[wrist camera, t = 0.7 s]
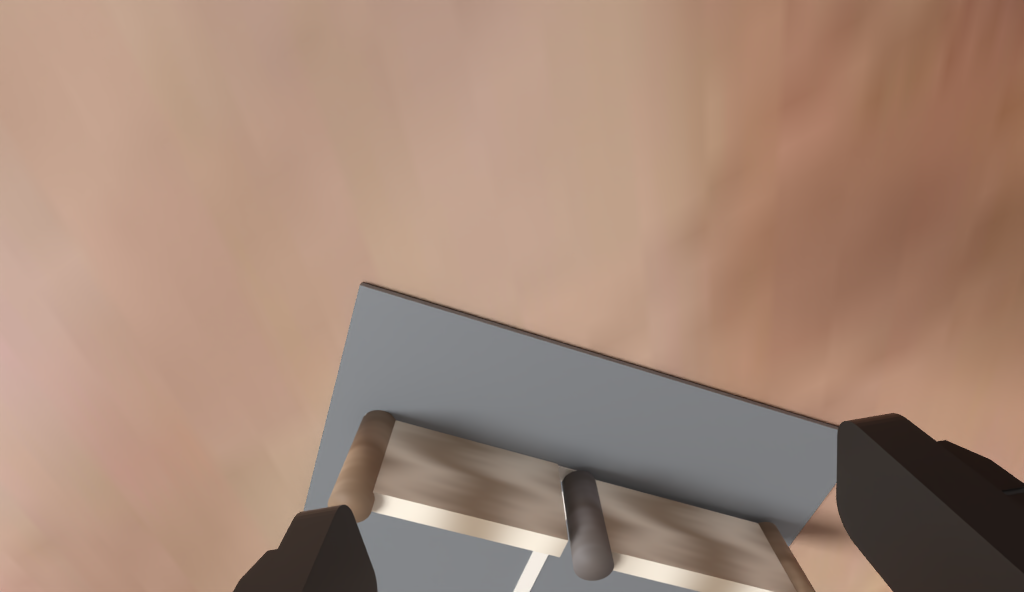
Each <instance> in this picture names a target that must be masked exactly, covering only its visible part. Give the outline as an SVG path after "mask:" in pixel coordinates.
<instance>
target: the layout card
mask: <svg viewBox="0 0 1024 592" xmlns="http://www.w3.org/2000/svg"><path fill="white" fill-rule="evenodd" d="M373 410H382V411H386V412H388V413H390V414H391V415H392V416H393V417H394V418H395V420H397V421H401V422H404V423H408V424H412V425H415V426H419V427H423V428H427V429H430V430H434V431H438V432H441V433H445V434H449V435H453V436H456V437H460V438H464V439H467V440H471V441H475V442H479V443H482V444H486V445H490V446H493V447H497V448H501V449H504V450H508V451H512V452H516V453H519V454H523V455H527V456H530V457H534V458H538V459H542V460H545V461H549V462H553V463H556V464H558V467H559V475H560V482H561V490H562V497H563V504H564V512H565V519H566V527H567V534H568V542H567V544H566V546H565V548H564V550H563V552H562V554H561V556H560V557H556V556H552V555H548V554H544V553H539V552H535V551H531V550H527V549H523V548H519V547H515V546H511V545H507V544H502V543H498V542H494V541H490V540H486V539H482V538H478V537H474V536H470V535H466V534H461V533H457V532H453V531H449V530H445V529H441V528H437V527H433V526H429V525H424V524H420V523H416V522H412V521H408V520H404V519H400V518H396V517H392V516H388V515H383V514H379V513H375V512H371V514H370V515H369V517H368V518H367V519H365V520H364V521H362V522H359V523H357V525H358V528H359V531H360V534H361V536H362V539H363V542H364V544H365V547H366V550H367V553H368V555H369V558H370V561H371V563H372V566H373V569H374V572H375V575H376V580H377V589H378V592H700V591H695V590H691V589H687V588H683V587H679V586H675V585H671V584H667V583H663V582H658V581H654V580H650V579H646V578H642V577H638V576H634V575H630V574H626V573H622V572H617V571H612V572H611V574H610V575H608V576H607V577H605V578H603V579H601V580H597V581H588V580H584V579H581V578H580V577H578V576H577V575H576V574H575V572H574V569H573V562H572V554H571V547H570V540H569V532H568V525H567V518H566V511H565V503H564V496H563V489H562V481H563V479H564V478H565V476H566V475H568V474H569V473H571V472H573V471H579V470H581V471H586V472H589V473H591V474H592V475H593V476H594V478H595V480H599V481H602V482H606V483H610V484H613V485H617V486H621V487H625V488H628V489H632V490H636V491H640V492H643V493H647V494H651V495H654V496H658V497H662V498H666V499H669V500H673V501H677V502H681V503H684V504H688V505H692V506H696V507H699V508H703V509H707V510H710V511H714V512H718V513H722V514H725V515H729V516H733V517H737V518H740V519H744V520H748V521H751V522H755V523H760V522H771V523H773V524H774V525H776V527H777V528H778V530H779V532H780V533H781V535H782V537H783V538H784V540H785V542H786V543H787V545H788V547H789V546H790V544H791V543H792V542H793V540H794V539H795V538H796V536H797V535H798V534H799V532H800V531H801V530H802V528H803V527H804V526H805V524H806V523H807V522H808V520H809V519H810V517H811V516H812V515H813V513H814V512H815V511H816V509H817V508H818V507H819V505H820V504H821V503H822V501H823V500H824V499H825V497H826V496H827V495H828V493H829V492H830V491H831V489H832V488H833V487H834V485H835V484H836V483H837V432H838V428H839V427H837V426H833V425H830V424H827V423H824V422H820V421H817V420H814V419H810V418H807V417H804V416H800V415H797V414H794V413H791V412H787V411H784V410H781V409H777V408H774V407H771V406H768V405H764V404H761V403H758V402H754V401H751V400H748V399H745V398H741V397H738V396H735V395H731V394H728V393H725V392H722V391H718V390H715V389H712V388H708V387H705V386H702V385H698V384H695V383H692V382H689V381H685V380H682V379H679V378H675V377H672V376H669V375H666V374H662V373H659V372H656V371H652V370H649V369H646V368H643V367H639V366H636V365H633V364H629V363H626V362H623V361H620V360H616V359H613V358H610V357H606V356H603V355H600V354H597V353H593V352H590V351H587V350H583V349H580V348H577V347H573V346H570V345H567V344H564V343H560V342H557V341H554V340H550V339H547V338H544V337H541V336H537V335H534V334H531V333H527V332H524V331H521V330H518V329H514V328H511V327H508V326H504V325H501V324H498V323H495V322H491V321H488V320H485V319H481V318H478V317H475V316H471V315H468V314H465V313H462V312H458V311H455V310H452V309H448V308H445V307H442V306H439V305H435V304H432V303H429V302H425V301H422V300H419V299H416V298H412V297H409V296H406V295H402V294H399V293H396V292H393V291H389V290H386V289H383V288H379V287H376V286H373V285H369V284H366V283H363V282H362V283H361V284H360V287H359V291H358V295H357V299H356V303H355V307H354V311H353V315H352V319H351V323H350V327H349V331H348V335H347V339H346V343H345V347H344V351H343V355H342V359H341V363H340V367H339V371H338V375H337V379H336V383H335V387H334V391H333V395H332V399H331V403H330V407H329V411H328V415H327V419H326V423H325V427H324V431H323V435H322V439H321V443H320V447H319V451H318V455H317V459H316V463H315V467H314V471H313V475H312V479H311V483H310V487H309V491H308V495H307V499H306V504H305V508H304V511H308V510H314V509H320V508H326V507H328V500H329V498H330V495H331V493H332V491H333V488H334V486H335V483H336V481H337V479H338V476H339V474H340V471H341V469H342V467H343V464H344V462H345V459H346V457H347V455H348V452H349V450H350V447H351V445H352V443H353V440H354V438H355V436H356V433H357V431H358V428H359V426H360V424H361V421H362V419H363V417H364V416H365V415H366V414H367V413H368V412H370V411H373Z"/></svg>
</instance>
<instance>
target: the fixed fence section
mask: <svg viewBox="0 0 1024 592" xmlns="http://www.w3.org/2000/svg"><path fill="white" fill-rule="evenodd" d="M338 505H347V506H348V507H349V508H350V509H351V510H352V512H353V515H354V517H355V520H356V523H359V522H362V521H364V520H365V519H367V518H368V517H369V515H370V514H371V512H375V513H379V514H383V515H388V516H392V517H396V518H400V519H404V520H408V521H412V522H416V523H420V524H424V525H429V526H433V527H437V528H441V529H445V530H449V531H453V532H457V533H461V534H466V535H470V536H474V537H478V538H482V539H486V540H490V541H494V542H498V543H502V544H507V545H511V546H515V547H519V548H523V549H527V550H531V551H535V552H539V553H544V554H548V555H552V556H556V557H560V556H561V554H562V552H563V550H564V548H565V546H566V544H567V542H568V534H567V527H566V519H565V512H564V504H563V497H562V490H561V482H560V475H559V467H558V464H556V463H553V462H549V461H545V460H542V459H538V458H534V457H530V456H527V455H523V454H519V453H516V452H512V451H508V450H504V449H501V448H497V447H493V446H490V445H486V444H482V443H479V442H475V441H471V440H467V439H464V438H460V437H456V436H453V435H449V434H445V433H441V432H438V431H434V430H430V429H427V428H423V427H419V426H415V425H412V424H408V423H404V422H401V421H397V420H395V418H394V417H393V416H392V415H391V414H390V413H388V412H386V411H382V410H373V411H370V412H368V413H367V414H366V415H365V416H364V417H363V419H362V421H361V424H360V426H359V428H358V431H357V433H356V436H355V438H354V440H353V443H352V445H351V447H350V450H349V452H348V455H347V457H346V459H345V462H344V464H343V467H342V469H341V471H340V474H339V476H338V479H337V481H336V483H335V486H334V488H333V491H332V493H331V495H330V498H329V500H328V507H332V506H338Z"/></svg>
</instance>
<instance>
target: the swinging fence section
mask: <svg viewBox="0 0 1024 592" xmlns="http://www.w3.org/2000/svg"><path fill="white" fill-rule="evenodd" d="M562 489H563V496H564V503H565V511H566V518H567V525H568V532H569V540H570V547H571V554H572V562H573V569H574V572H575V574H576V575H577V576H578V577H580V578H581V579H584V580H588V581H597V580H601V579H603V578H605V577H607V576H608V575H610V574H611V572H612V571H617V572H622V573H626V574H630V575H634V576H638V577H642V578H646V579H650V580H654V581H658V582H663V583H667V584H671V585H675V586H679V587H683V588H687V589H691V590H695V591H700V592H815V590H814V588H813V587H812V585H811V583H810V582H809V580H808V578H807V577H806V575H805V573H804V572H803V570H802V568H801V567H800V565H799V563H798V562H797V560H796V558H795V557H794V555H793V553H792V552H791V550H790V548H789V547H788V545H787V543H786V542H785V540H784V538H783V537H782V535H781V533H780V532H779V530H778V528H777V527H776V525H774V524H773V523H771V522H760V523H755V522H751V521H748V520H744V519H740V518H737V517H733V516H729V515H725V514H722V513H718V512H714V511H710V510H707V509H703V508H699V507H696V506H692V505H688V504H684V503H681V502H677V501H673V500H669V499H666V498H662V497H658V496H654V495H651V494H647V493H643V492H640V491H636V490H632V489H628V488H625V487H621V486H617V485H613V484H610V483H606V482H602V481H599V480H595V478H594V476H593V475H592V474H591V473H589V472H586V471H581V470H579V471H573V472H571V473H569V474H568V475H566V476H565V478H564V479H563V481H562Z"/></svg>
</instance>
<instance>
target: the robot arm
mask: <svg viewBox="0 0 1024 592" xmlns="http://www.w3.org/2000/svg"><path fill="white" fill-rule="evenodd" d="M836 500H837V507H838V511H839V515H840V518H841V520H842V523H843V525H844V527H845V529H846V531H847V533H848V535H849V536H850V538H851V540H852V541H853V542H854V544H855V545H856V546H857V547H858V549H859V550H860V551H861V552H862V554H863V555H864V556H865V557H866V559H867V560H868V561H869V562H870V563H871V565H872V566H873V567H874V568H875V570H876V571H877V572H878V573H879V575H880V576H881V577H882V578H883V580H884V581H885V582H886V583H887V584H888V586H889V587H890V588H891V589H892V591H893V592H1024V483H1022V482H1021V481H1020V480H1018V479H1017V478H1015V477H1014V476H1013V475H1011V474H1010V473H1008V472H1007V471H1006V470H1004V469H1003V468H1001V467H1000V466H999V465H997V464H996V463H994V462H993V461H992V460H990V459H988V458H985V457H983V456H981V455H979V454H976V453H974V452H972V451H969V450H967V449H965V448H962V447H960V446H958V445H956V444H953V443H951V442H949V441H946V440H944V441H938V442H936V441H935V440H934V439H933V438H931V437H930V436H929V435H927V434H926V433H925V432H923V431H922V430H921V429H919V428H918V427H917V426H915V425H914V424H913V423H912V422H910V421H909V420H908V419H906V418H905V417H903V416H901V415H899V414H895V413H891V414H885V415H879V416H873V417H867V418H861V419H855V420H849V421H844V422H842V423H841V424H840V426H839V428H838V432H837V487H836ZM233 592H378V589H377V580H376V575H375V572H374V569H373V566H372V563H371V561H370V558H369V555H368V553H367V550H366V547H365V544H364V542H363V539H362V536H361V534H360V531H359V528H358V525H357V523H356V520H355V517H354V515H353V512H352V510H351V509H350V508H349V507H348V506H347V505H338V506H332V507H326V508H320V509H314V510H308V511H303V512H300V513H298V514H297V515H296V516H295V517H294V519H293V521H292V523H291V525H290V526H289V528H288V530H287V532H286V534H285V536H284V538H283V540H282V542H281V544H280V546H279V547H278V549H275V550H269V551H267V552H266V553H265V554H264V555H263V556H262V557H261V558H260V559H259V560H258V561H257V562H256V564H255V565H254V566H253V567H252V568H251V569H250V570H249V571H248V572H247V573H246V574H245V575H244V576H243V577H242V578H241V579H240V581H239V582H238V584H237V586H236V588H235V589H234V591H233Z"/></svg>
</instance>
